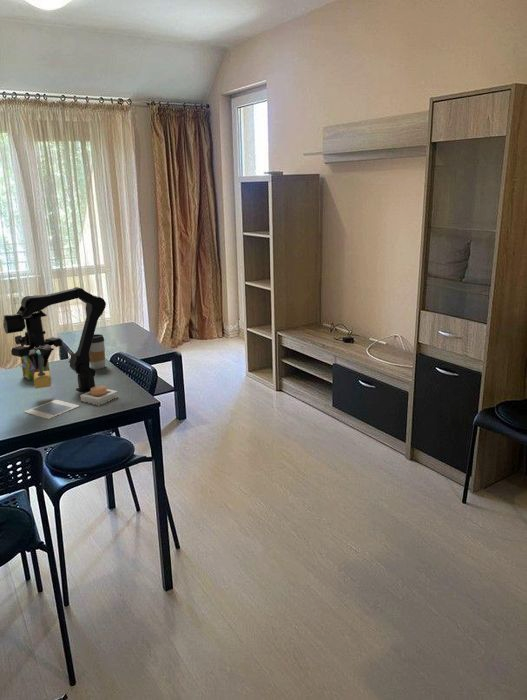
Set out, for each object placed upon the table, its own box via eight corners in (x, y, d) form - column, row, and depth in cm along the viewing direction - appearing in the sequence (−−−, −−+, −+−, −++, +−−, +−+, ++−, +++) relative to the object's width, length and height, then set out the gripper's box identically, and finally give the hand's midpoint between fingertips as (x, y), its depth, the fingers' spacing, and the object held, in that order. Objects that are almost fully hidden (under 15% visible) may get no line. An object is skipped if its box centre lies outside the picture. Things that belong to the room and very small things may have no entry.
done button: (110, 392, 212) (109, 387, 211) (98, 397, 207) (97, 391, 206) (99, 390, 215) (99, 384, 214) (87, 395, 210) (87, 389, 209)
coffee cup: (85, 367, 253) (82, 336, 249) (102, 363, 259) (98, 333, 255) (94, 370, 247) (90, 339, 243) (110, 366, 253) (107, 335, 249)
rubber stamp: (35, 381, 215) (30, 352, 212) (50, 378, 217) (46, 350, 214) (34, 388, 206) (30, 358, 203) (51, 386, 208) (46, 356, 205)
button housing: (118, 397, 213) (117, 391, 212) (98, 405, 205) (98, 399, 204) (100, 393, 218) (99, 387, 217) (81, 401, 210) (80, 395, 209)
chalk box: (22, 377, 242) (17, 345, 238) (43, 372, 248) (38, 341, 244) (30, 381, 235) (25, 349, 231) (51, 376, 241) (46, 344, 237)
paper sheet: (79, 406, 205) (79, 405, 204) (48, 419, 193) (48, 418, 193) (55, 400, 212) (55, 399, 212) (24, 412, 200) (24, 411, 200)
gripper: (42, 322, 217) (48, 359, 222) (-1, 332, 202) (6, 371, 207) (60, 324, 211) (65, 362, 216) (17, 335, 196) (23, 375, 201)
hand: (40, 368), depth 210 cm, fingers closed on rubber stamp, 3 cm apart
